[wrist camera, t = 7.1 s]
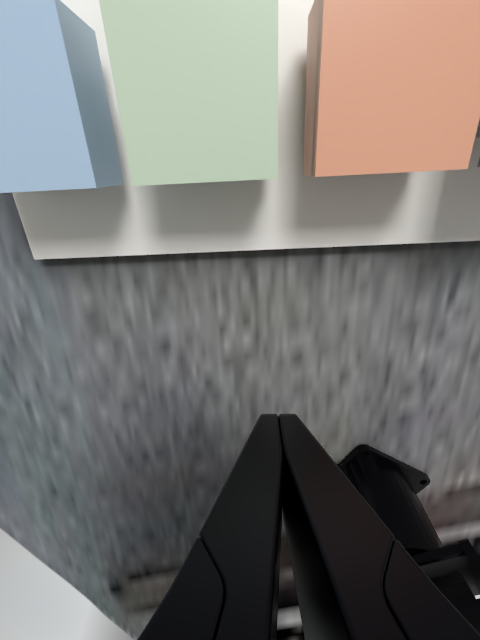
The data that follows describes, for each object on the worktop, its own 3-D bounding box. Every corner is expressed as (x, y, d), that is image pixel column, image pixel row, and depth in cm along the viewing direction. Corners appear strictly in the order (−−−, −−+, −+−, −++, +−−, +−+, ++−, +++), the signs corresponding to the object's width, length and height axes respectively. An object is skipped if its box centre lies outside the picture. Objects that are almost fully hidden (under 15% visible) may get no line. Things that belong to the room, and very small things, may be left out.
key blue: (94, 31, 12) (53, -7, 9) (123, 184, 14) (96, 187, 11) (-41, 41, 12) (-118, 7, 9) (8, 190, 14) (-43, 195, 12)
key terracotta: (456, 5, 11) (517, -41, 9) (426, 168, 13) (467, 169, 11) (308, 16, 11) (324, -27, 9) (302, 175, 14) (315, 177, 11)
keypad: (658, -114, 11) (840, -239, 8) (537, 234, 16) (614, 252, 13) (-56, -54, 12) (-174, -141, 9) (43, 255, 17) (-8, 277, 14)
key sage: (271, 18, 12) (278, -23, 9) (272, 176, 14) (277, 178, 11) (129, 28, 12) (97, -9, 9) (153, 182, 14) (132, 186, 11)
